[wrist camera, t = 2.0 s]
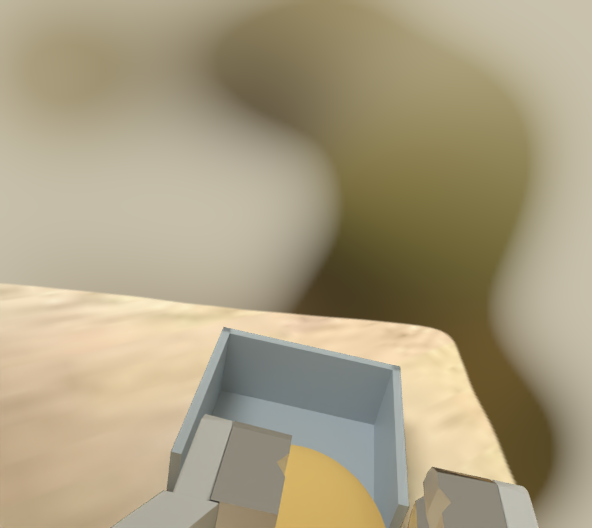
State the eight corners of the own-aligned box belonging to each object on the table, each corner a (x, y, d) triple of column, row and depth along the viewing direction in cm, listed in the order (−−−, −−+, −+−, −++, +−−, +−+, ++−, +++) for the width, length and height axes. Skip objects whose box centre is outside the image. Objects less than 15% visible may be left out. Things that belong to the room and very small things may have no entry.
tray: (163, 521, 35) (171, 451, 32) (214, 387, 46) (223, 326, 43) (381, 572, 34) (409, 506, 32) (380, 425, 45) (400, 366, 43)
